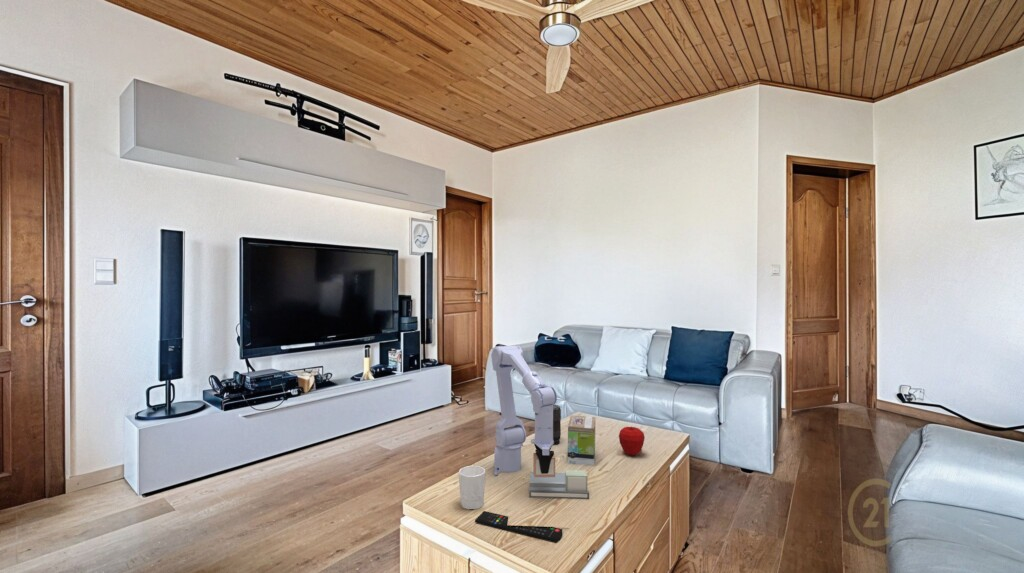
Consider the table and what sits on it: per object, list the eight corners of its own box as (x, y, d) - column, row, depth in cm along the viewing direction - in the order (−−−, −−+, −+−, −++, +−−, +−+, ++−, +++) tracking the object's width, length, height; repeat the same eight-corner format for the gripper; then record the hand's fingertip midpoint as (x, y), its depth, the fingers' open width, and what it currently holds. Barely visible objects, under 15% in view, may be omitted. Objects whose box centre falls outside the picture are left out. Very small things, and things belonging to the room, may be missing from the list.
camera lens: (537, 443, 181) (537, 407, 181) (547, 437, 188) (547, 403, 188) (554, 447, 177) (554, 410, 177) (564, 441, 183) (564, 405, 183)
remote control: (483, 515, 125) (483, 510, 125) (564, 534, 115) (564, 529, 115) (475, 524, 120) (475, 519, 120) (558, 545, 110) (558, 540, 110)
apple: (647, 459, 164) (647, 430, 164) (622, 458, 165) (622, 430, 165) (640, 449, 174) (640, 422, 174) (616, 449, 174) (616, 422, 174)
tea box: (595, 469, 155) (595, 427, 155) (566, 466, 157) (566, 426, 157) (595, 453, 170) (595, 415, 170) (569, 451, 172) (569, 414, 172)
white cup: (474, 513, 125) (474, 478, 125) (453, 506, 129) (453, 472, 129) (490, 502, 131) (490, 469, 131) (469, 495, 135) (469, 463, 136)
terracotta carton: (534, 477, 134) (534, 458, 134) (533, 471, 138) (533, 452, 138) (555, 477, 134) (555, 457, 134) (553, 471, 138) (553, 452, 138)
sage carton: (566, 495, 133) (566, 475, 133) (565, 489, 137) (565, 470, 137) (587, 495, 133) (587, 476, 133) (586, 489, 137) (586, 470, 137)
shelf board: (529, 501, 132) (529, 491, 132) (530, 475, 150) (530, 467, 150) (589, 503, 131) (589, 493, 131) (583, 476, 149) (583, 468, 149)
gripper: (529, 419, 143) (530, 460, 143) (532, 434, 128) (532, 480, 128) (551, 419, 143) (551, 460, 143) (556, 433, 129) (556, 480, 128)
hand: (543, 469), depth 136 cm, fingers closed on terracotta carton, 4 cm apart
